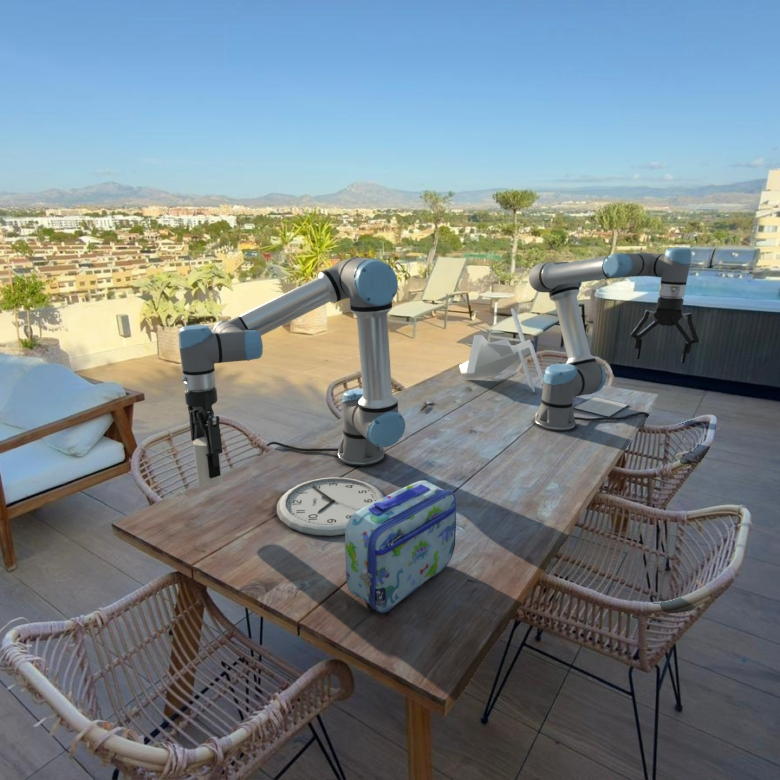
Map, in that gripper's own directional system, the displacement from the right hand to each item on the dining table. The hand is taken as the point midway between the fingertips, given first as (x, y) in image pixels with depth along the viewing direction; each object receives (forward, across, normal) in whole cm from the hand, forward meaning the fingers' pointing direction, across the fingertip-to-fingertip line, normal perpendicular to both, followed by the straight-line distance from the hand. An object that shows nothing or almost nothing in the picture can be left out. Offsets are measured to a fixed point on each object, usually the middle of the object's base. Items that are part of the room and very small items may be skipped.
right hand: (659, 360), depth 177 cm
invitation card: (+31, -16, +39) cm, 52 cm away
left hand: (+20, -110, -97) cm, 148 cm away
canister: (+23, -110, -97) cm, 148 cm away
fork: (+31, -85, +7) cm, 90 cm away
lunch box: (+31, -52, -105) cm, 121 cm away
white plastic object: (+31, -62, +51) cm, 86 cm away
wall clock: (+31, -81, -82) cm, 120 cm away
